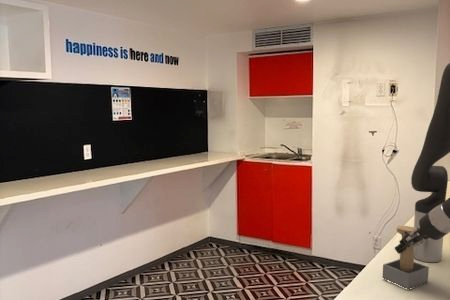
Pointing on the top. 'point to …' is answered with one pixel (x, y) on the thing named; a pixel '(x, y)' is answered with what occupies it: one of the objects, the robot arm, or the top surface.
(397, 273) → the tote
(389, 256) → the top surface
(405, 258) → the handle
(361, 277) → the top surface
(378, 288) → the top surface
